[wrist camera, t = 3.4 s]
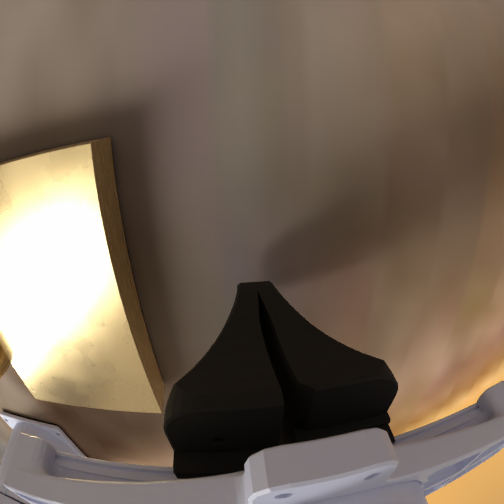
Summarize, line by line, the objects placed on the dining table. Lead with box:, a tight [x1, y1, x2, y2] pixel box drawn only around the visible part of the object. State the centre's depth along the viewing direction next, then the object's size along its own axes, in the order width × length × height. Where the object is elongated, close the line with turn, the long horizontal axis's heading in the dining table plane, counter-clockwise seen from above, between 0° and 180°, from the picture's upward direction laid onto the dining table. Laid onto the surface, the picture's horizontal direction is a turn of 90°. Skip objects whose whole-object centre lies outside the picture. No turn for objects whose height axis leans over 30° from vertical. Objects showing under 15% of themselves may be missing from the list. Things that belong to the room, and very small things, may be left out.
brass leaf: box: [0, 137, 165, 413], centre depth 11 cm, size 14×14×4 cm
